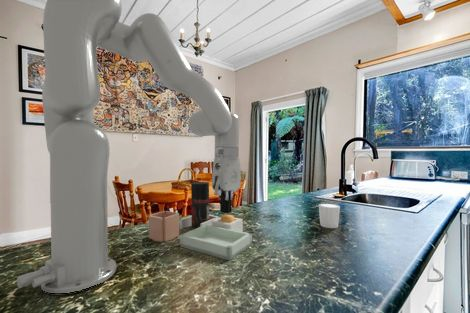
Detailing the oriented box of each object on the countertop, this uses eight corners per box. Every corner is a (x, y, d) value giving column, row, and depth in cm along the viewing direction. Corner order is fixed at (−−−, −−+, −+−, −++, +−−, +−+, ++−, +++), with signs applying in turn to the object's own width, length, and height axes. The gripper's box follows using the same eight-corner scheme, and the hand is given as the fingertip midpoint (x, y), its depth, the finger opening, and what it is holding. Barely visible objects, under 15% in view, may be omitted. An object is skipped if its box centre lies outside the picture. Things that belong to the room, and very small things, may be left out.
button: (229, 233, 70) (229, 218, 70) (218, 230, 72) (218, 216, 72) (236, 229, 73) (236, 215, 73) (225, 227, 75) (225, 214, 75)
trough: (230, 260, 53) (229, 247, 53) (180, 246, 62) (180, 235, 62) (251, 244, 63) (251, 233, 63) (205, 234, 71) (205, 224, 71)
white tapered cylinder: (336, 222, 82) (336, 203, 82) (343, 229, 75) (343, 207, 75) (316, 222, 83) (316, 203, 83) (321, 228, 76) (321, 207, 76)
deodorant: (208, 229, 75) (207, 184, 75) (189, 229, 75) (189, 184, 75) (210, 224, 81) (210, 181, 81) (193, 224, 81) (193, 181, 81)
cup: (163, 243, 64) (162, 219, 64) (146, 238, 68) (146, 215, 67) (181, 235, 70) (181, 213, 70) (165, 231, 73) (165, 210, 73)
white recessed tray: (228, 239, 66) (228, 225, 66) (180, 228, 77) (179, 216, 77) (244, 230, 75) (244, 217, 75) (198, 221, 85) (198, 210, 85)
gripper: (222, 153, 64) (221, 219, 64) (248, 154, 76) (247, 209, 76) (201, 152, 68) (200, 215, 67) (229, 154, 80) (228, 206, 80)
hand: (225, 212), depth 72 cm, fingers closed
